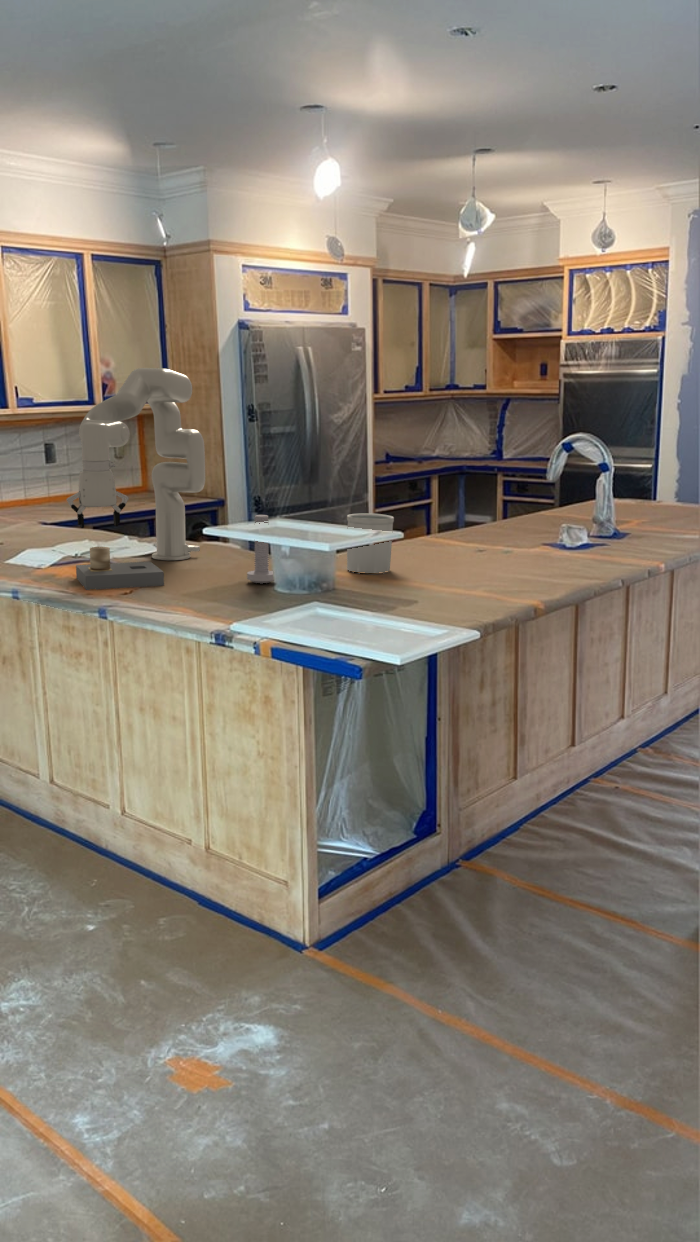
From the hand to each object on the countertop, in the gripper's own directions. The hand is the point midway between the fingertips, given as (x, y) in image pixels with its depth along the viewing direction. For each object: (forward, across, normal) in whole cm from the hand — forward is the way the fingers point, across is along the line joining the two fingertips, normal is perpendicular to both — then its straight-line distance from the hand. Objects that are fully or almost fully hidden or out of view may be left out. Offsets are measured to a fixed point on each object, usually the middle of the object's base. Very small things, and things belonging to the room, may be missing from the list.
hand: (99, 526), depth 289 cm
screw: (+17, -44, +14) cm, 49 cm away
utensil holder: (+18, -83, +6) cm, 85 cm away
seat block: (+16, -5, 0) cm, 17 cm away
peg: (+16, 0, 0) cm, 16 cm away
